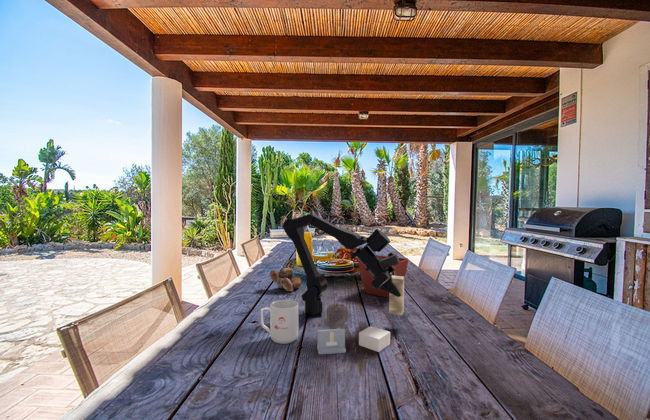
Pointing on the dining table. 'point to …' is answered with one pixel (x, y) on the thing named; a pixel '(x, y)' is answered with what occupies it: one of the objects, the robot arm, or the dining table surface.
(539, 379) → the dining table surface
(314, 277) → the robot arm
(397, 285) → the maple pillar
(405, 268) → the plant pot
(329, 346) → the plaque
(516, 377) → the dining table surface
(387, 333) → the white slab
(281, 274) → the brown lumpy cluster
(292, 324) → the mug
